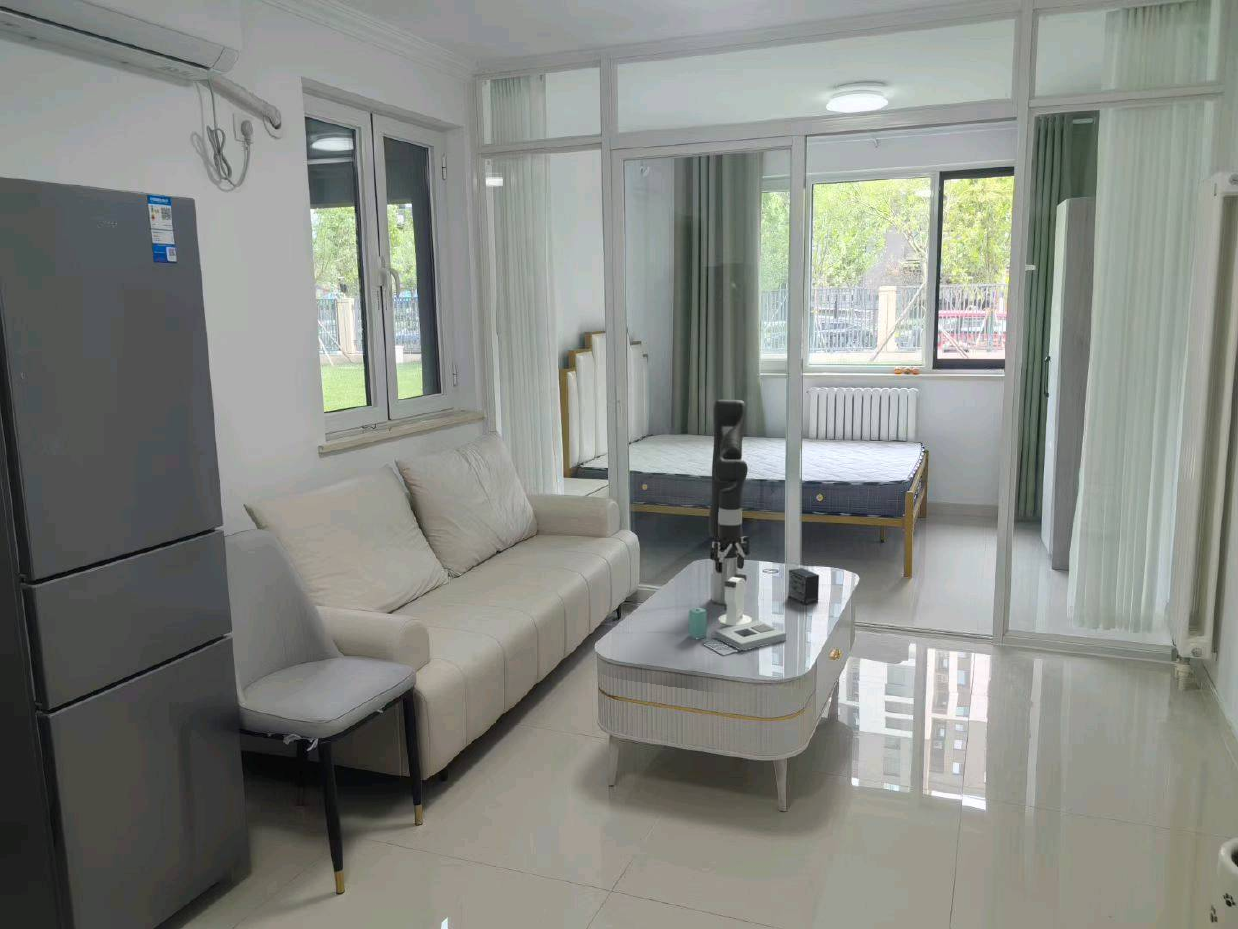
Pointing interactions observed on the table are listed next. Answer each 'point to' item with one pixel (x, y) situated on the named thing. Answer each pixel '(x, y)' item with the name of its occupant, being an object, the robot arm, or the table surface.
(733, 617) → the white curved stand
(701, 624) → the teal knobbed block
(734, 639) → the plate
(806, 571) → the small box
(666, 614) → the table surface
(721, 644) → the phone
